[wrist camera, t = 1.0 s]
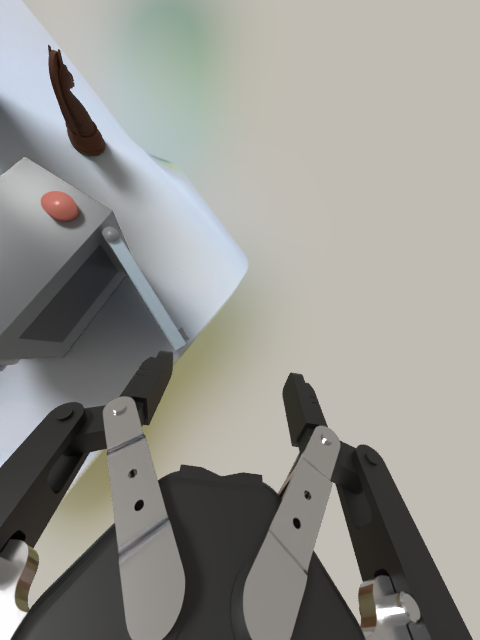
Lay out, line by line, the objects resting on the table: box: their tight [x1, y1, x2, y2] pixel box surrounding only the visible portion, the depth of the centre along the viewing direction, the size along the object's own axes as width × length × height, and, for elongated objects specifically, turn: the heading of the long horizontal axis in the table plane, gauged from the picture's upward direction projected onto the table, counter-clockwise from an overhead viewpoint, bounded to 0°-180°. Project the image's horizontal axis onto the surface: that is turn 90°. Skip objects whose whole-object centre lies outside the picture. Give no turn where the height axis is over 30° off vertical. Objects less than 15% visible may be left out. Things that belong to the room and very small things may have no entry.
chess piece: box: [48, 45, 105, 156], centre depth 26 cm, size 5×5×10 cm
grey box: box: [0, 157, 131, 371], centre depth 21 cm, size 8×18×13 cm, turn 153°
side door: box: [102, 227, 189, 351], centre depth 24 cm, size 2×14×11 cm, turn 33°
